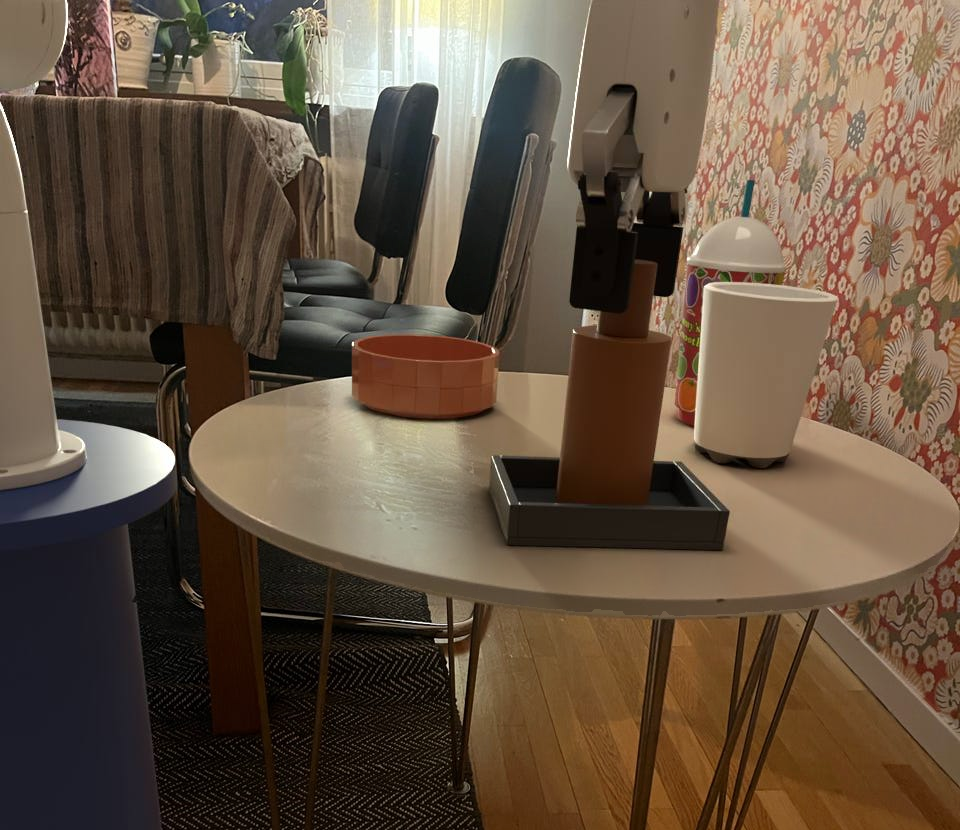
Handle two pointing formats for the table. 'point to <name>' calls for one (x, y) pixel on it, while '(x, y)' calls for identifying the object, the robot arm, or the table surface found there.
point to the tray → (605, 510)
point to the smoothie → (722, 258)
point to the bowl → (424, 375)
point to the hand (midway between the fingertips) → (624, 301)
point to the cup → (756, 367)
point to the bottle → (614, 403)
